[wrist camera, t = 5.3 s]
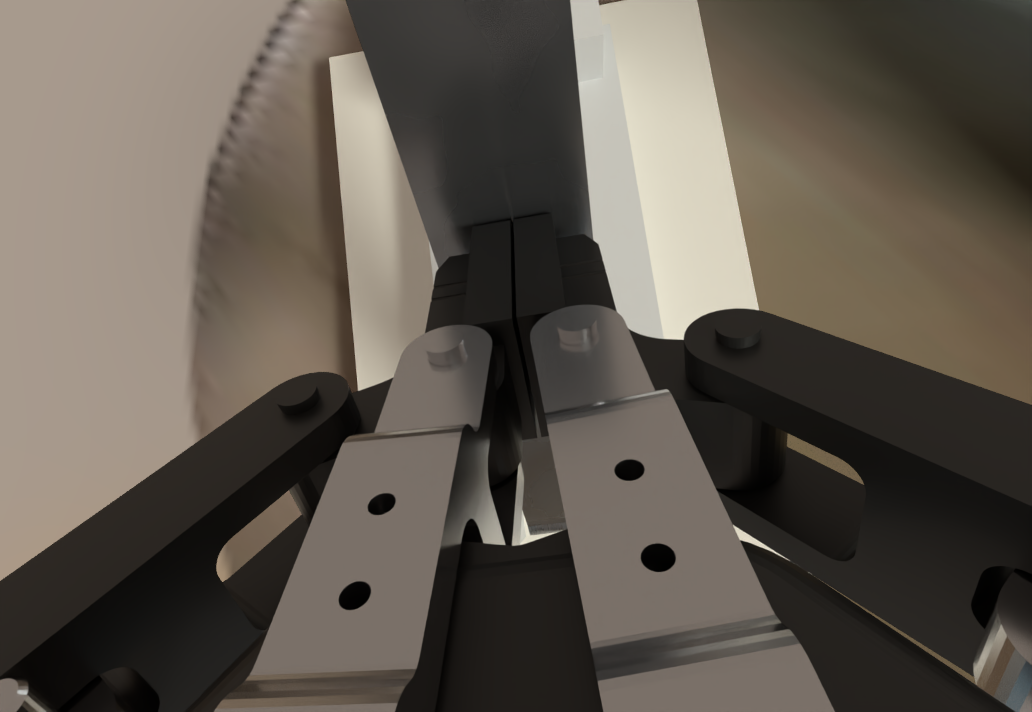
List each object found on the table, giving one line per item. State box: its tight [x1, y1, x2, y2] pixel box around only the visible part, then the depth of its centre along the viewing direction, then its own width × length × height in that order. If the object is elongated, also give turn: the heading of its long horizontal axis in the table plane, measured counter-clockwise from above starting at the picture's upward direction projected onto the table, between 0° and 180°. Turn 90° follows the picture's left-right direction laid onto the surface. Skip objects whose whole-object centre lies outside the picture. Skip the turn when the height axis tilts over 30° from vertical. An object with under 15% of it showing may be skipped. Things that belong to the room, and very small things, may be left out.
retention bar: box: [346, 0, 593, 535], centre depth 15 cm, size 3×19×1 cm
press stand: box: [329, 0, 812, 575], centre depth 25 cm, size 16×25×7 cm, turn 8°
